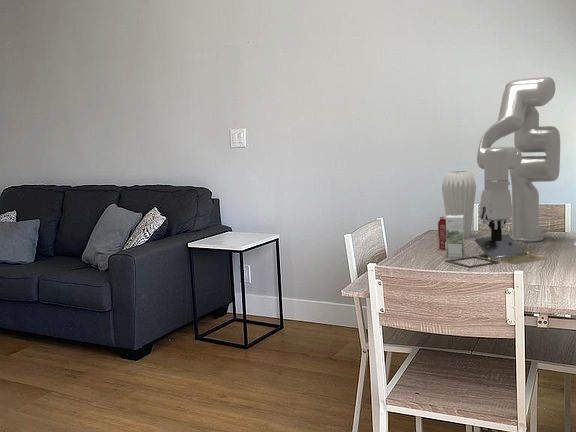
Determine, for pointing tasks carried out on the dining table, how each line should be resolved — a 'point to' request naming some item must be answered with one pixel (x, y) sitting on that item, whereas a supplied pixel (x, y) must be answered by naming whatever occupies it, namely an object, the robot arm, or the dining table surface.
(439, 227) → the soda can
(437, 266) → the dining table surface
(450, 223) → the syrup box
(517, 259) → the fixed leaf
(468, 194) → the vase
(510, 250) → the gray hinge leaf
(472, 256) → the gray rectangular frame
